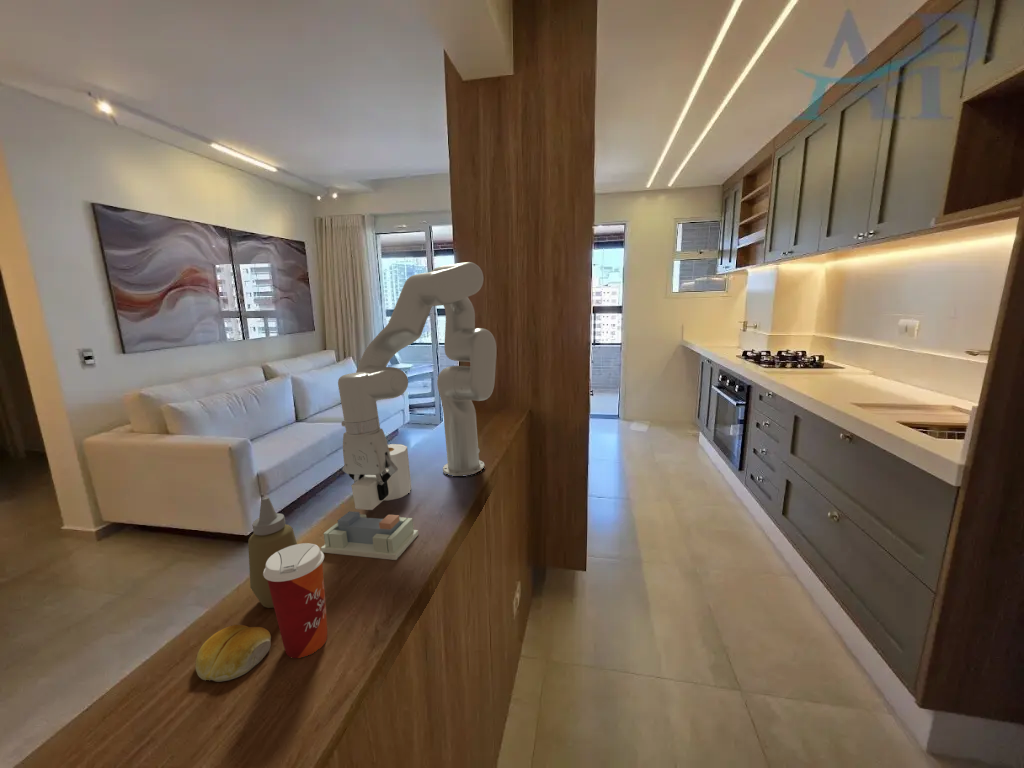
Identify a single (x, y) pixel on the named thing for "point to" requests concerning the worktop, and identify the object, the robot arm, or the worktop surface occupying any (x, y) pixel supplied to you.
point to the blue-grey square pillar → (367, 527)
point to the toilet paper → (399, 471)
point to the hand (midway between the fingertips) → (374, 496)
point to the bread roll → (232, 652)
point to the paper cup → (298, 597)
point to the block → (368, 492)
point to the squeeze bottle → (266, 547)
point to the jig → (381, 545)
